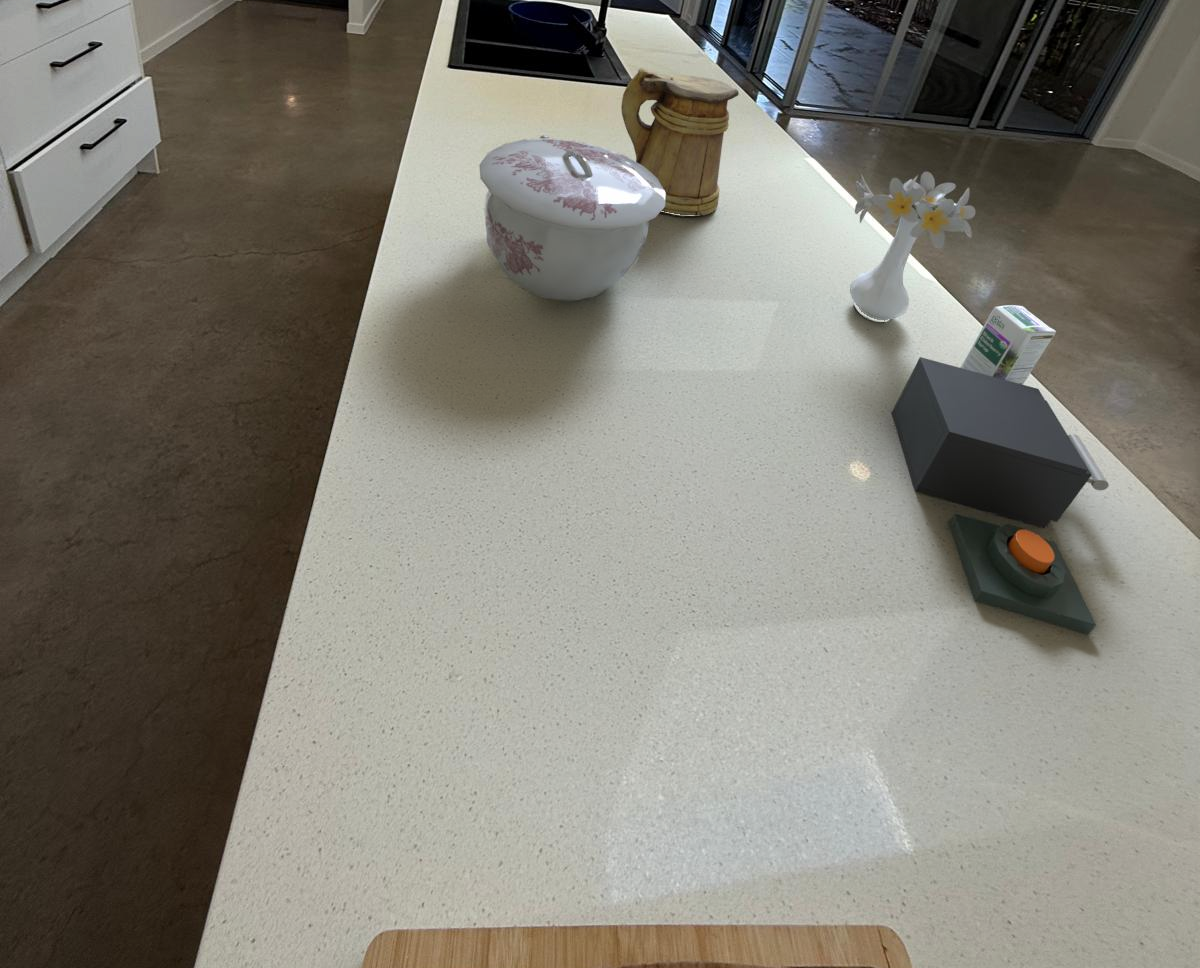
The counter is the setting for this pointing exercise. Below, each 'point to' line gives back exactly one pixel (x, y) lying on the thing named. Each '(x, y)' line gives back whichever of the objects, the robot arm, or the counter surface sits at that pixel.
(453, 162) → the counter surface
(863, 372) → the counter surface
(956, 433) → the dark grey cabinet
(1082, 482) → the drawer
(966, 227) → the flower vase
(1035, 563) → the button
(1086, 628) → the panel
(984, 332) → the syrup box
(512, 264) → the chamber pot
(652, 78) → the tankard
